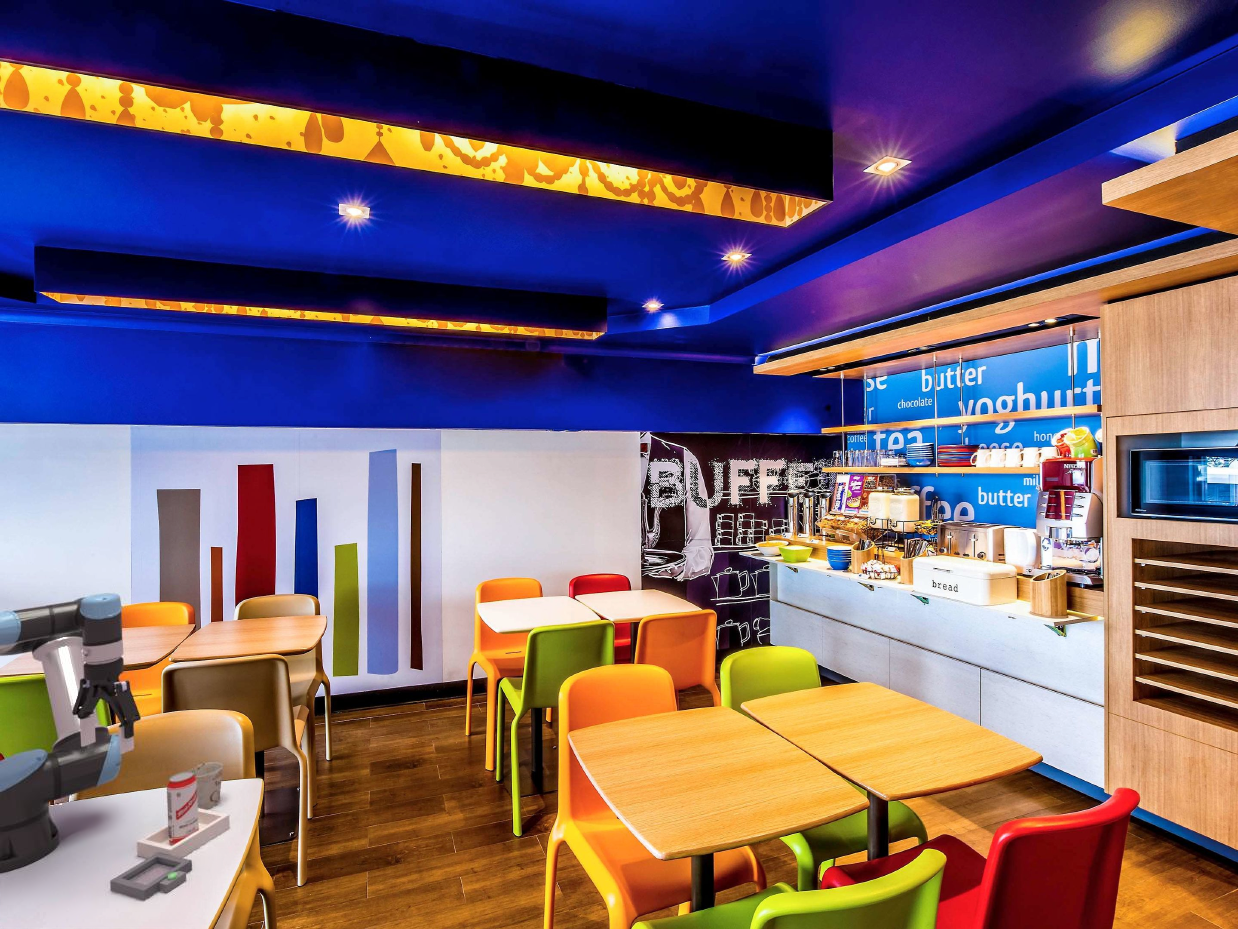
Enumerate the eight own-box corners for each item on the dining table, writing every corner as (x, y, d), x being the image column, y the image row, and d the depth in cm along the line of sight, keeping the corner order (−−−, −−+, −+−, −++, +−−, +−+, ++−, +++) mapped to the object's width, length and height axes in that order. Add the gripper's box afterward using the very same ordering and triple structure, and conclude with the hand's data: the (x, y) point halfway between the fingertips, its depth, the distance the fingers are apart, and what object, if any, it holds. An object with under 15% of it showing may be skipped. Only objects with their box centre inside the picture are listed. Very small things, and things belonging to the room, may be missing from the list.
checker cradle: (110, 890, 144) (110, 879, 144) (159, 861, 154) (158, 850, 154) (152, 903, 139) (151, 891, 139) (199, 871, 150) (199, 861, 150)
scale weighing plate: (124, 886, 145) (124, 883, 145) (156, 866, 152) (156, 863, 152) (147, 892, 143) (147, 889, 143) (178, 872, 149) (178, 869, 149)
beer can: (164, 842, 161) (161, 778, 160) (191, 829, 166) (188, 767, 166) (176, 850, 157) (173, 785, 157) (204, 836, 163) (201, 773, 162)
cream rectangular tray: (137, 856, 156) (136, 841, 156) (197, 821, 171) (197, 807, 171) (171, 864, 153) (170, 850, 152) (229, 828, 167) (229, 814, 167)
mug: (206, 814, 174) (205, 777, 174) (167, 810, 176) (166, 774, 176) (231, 798, 182) (229, 763, 182) (193, 794, 185) (192, 759, 184)
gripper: (51, 660, 156) (55, 748, 156) (123, 669, 147) (126, 761, 148) (86, 651, 163) (89, 734, 163) (156, 659, 154) (159, 747, 155)
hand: (107, 747), depth 155 cm, fingers open, 13 cm apart
